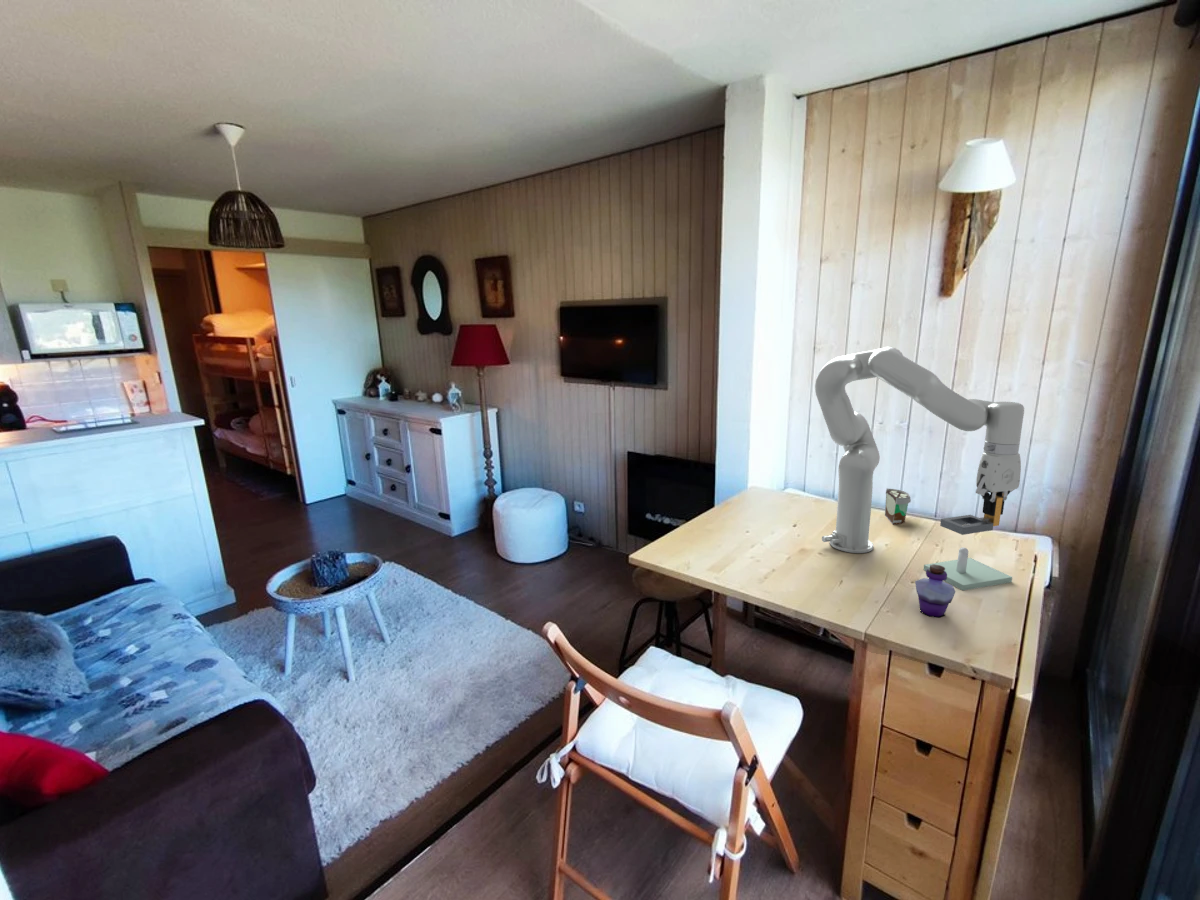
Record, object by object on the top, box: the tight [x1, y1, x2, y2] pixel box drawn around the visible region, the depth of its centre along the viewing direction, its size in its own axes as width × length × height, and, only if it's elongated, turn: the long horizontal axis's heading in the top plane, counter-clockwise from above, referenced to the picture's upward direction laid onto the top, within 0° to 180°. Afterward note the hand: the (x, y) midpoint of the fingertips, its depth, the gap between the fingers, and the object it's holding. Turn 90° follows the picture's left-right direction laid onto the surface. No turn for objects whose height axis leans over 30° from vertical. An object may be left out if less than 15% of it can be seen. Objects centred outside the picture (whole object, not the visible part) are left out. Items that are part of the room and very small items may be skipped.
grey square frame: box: [939, 496, 1003, 536], centre depth 148 cm, size 14×7×8 cm, turn 104°
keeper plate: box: [923, 547, 1013, 591], centre depth 151 cm, size 16×13×9 cm
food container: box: [884, 488, 912, 526], centre depth 193 cm, size 12×6×10 cm, turn 168°
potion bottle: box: [914, 564, 956, 619], centre depth 133 cm, size 9×9×12 cm
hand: (992, 513), depth 150 cm, fingers closed on grey square frame
